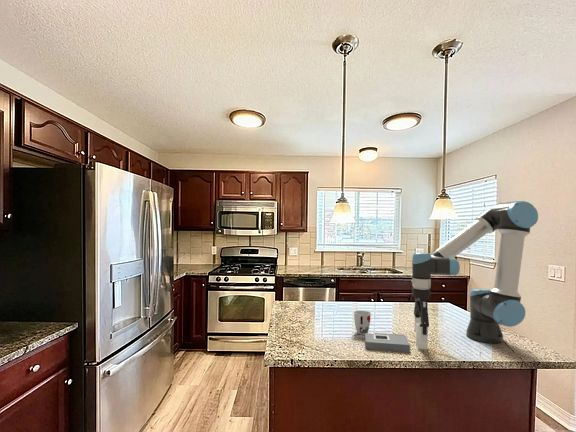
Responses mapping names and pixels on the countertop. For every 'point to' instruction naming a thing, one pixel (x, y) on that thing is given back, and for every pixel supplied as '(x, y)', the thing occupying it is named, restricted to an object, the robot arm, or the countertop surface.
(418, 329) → the block
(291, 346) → the countertop surface
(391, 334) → the phone
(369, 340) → the plate
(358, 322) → the cup
